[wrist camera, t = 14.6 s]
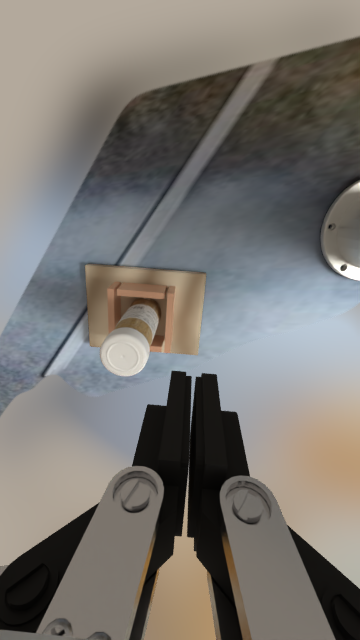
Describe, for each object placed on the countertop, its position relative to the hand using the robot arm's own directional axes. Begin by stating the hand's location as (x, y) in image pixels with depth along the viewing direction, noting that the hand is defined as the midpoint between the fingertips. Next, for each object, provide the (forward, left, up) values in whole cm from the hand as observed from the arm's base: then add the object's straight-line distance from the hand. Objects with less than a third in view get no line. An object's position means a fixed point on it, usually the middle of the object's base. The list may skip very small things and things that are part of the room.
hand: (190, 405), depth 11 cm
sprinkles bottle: (+6, +7, -28) cm, 29 cm away
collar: (+6, +7, -28) cm, 29 cm away
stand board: (+6, +7, -29) cm, 30 cm away
